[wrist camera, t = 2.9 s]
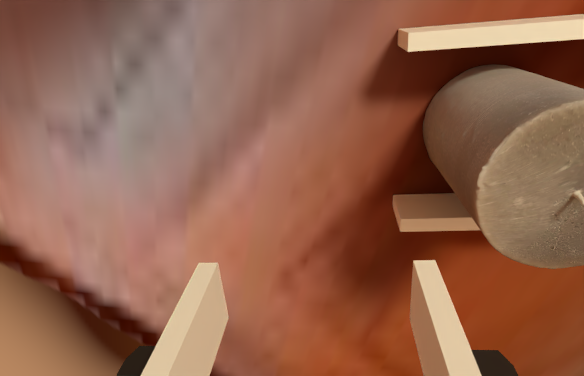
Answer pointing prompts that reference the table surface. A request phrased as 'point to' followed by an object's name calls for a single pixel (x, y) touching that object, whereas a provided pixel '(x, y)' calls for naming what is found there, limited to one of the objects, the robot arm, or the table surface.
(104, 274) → the table surface
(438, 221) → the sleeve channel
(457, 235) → the table surface
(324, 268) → the table surface
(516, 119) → the pillar candle
